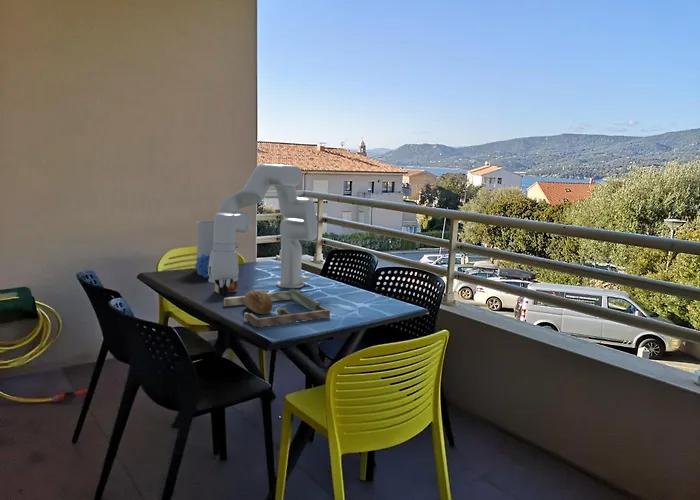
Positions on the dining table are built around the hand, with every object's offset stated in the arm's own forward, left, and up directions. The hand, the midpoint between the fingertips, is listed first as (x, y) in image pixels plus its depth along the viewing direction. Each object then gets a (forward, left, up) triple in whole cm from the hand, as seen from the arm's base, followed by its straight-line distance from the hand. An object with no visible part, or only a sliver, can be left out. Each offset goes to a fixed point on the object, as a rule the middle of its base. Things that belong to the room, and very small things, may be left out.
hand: (223, 297), depth 180 cm
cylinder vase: (-19, -76, -7) cm, 79 cm away
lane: (-19, 0, -7) cm, 20 cm away
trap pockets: (-20, +15, -7) cm, 26 cm away
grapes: (-12, -59, -7) cm, 61 cm away
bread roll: (-14, 0, -7) cm, 15 cm away
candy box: (-12, -32, -7) cm, 35 cm away
